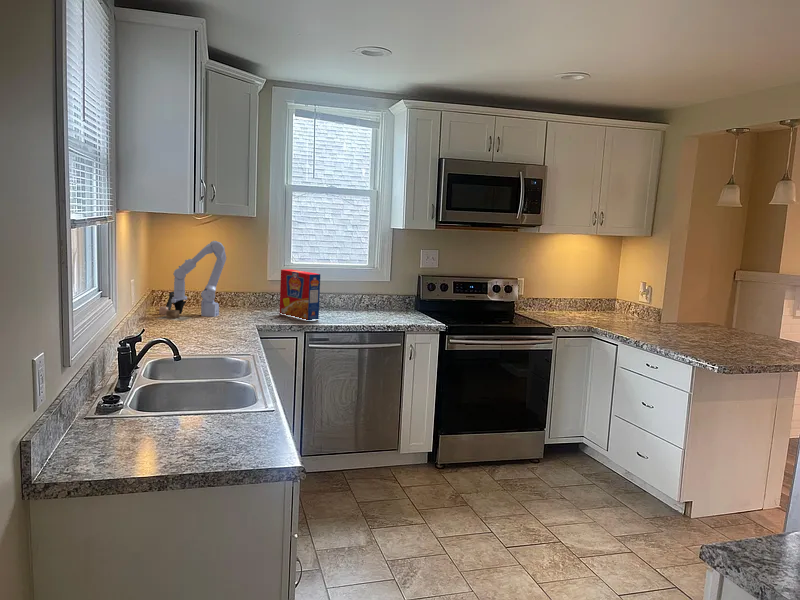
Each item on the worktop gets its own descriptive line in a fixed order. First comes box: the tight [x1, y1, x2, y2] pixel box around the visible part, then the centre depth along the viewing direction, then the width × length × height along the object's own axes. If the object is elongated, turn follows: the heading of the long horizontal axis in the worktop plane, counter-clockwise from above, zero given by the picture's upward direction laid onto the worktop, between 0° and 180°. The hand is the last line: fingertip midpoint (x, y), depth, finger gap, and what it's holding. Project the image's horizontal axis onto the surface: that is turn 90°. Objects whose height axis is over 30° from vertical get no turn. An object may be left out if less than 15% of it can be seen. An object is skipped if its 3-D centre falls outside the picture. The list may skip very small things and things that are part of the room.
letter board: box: [155, 315, 193, 322], centre depth 334 cm, size 16×12×1 cm
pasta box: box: [279, 269, 321, 320], centre depth 362 cm, size 28×8×28 cm, turn 47°
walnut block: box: [165, 309, 180, 319], centre depth 334 cm, size 5×5×4 cm
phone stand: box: [165, 291, 176, 310], centre depth 358 cm, size 9×6×12 cm, turn 90°
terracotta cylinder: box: [158, 306, 168, 316], centre depth 344 cm, size 5×5×5 cm
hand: (179, 313), depth 341 cm, fingers closed
